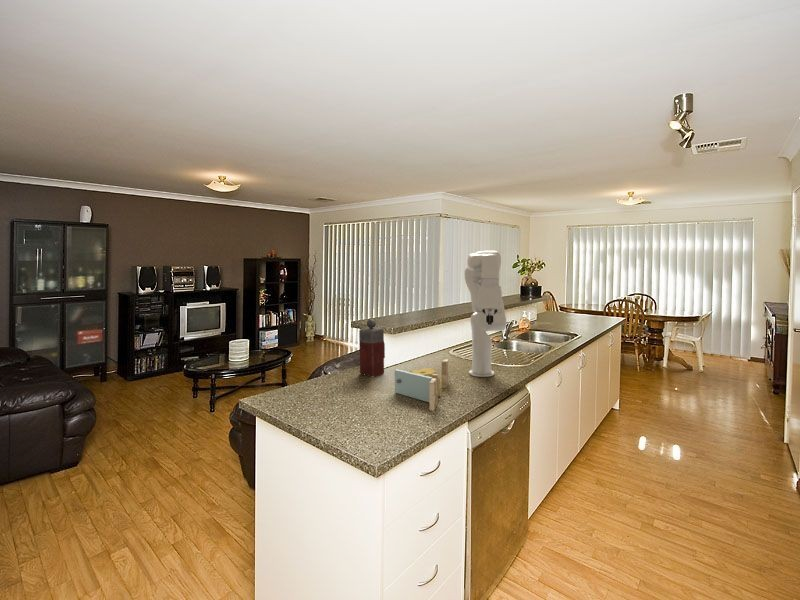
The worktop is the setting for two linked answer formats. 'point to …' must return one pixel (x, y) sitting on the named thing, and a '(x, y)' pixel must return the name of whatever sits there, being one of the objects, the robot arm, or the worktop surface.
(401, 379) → the door
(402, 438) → the worktop surface
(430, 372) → the cheese
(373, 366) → the red canister
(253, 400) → the worktop surface
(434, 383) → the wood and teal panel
